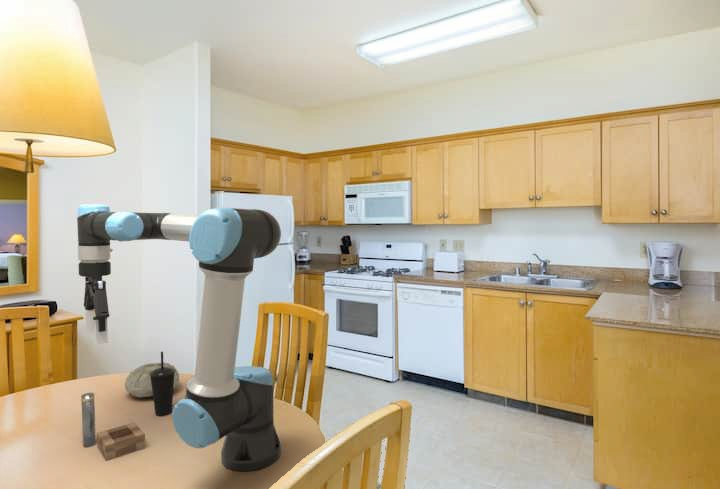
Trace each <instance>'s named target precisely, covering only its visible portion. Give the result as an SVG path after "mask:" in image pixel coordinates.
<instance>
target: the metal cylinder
mask: <svg viewBox="0 0 720 489" xmlns="http://www.w3.org/2000/svg"><path fill="white" fill-rule="evenodd" d="M80 396H81V397H80V400H81V421H82V423H81V425H82V426H81V427H82V447H83V448H91V447H93V446H95V445H96V444H97V434H96V415H95V414H96V409H95V404H96V403H95V393H94V392H86V393H83V394H81V395H80Z"/></svg>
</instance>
